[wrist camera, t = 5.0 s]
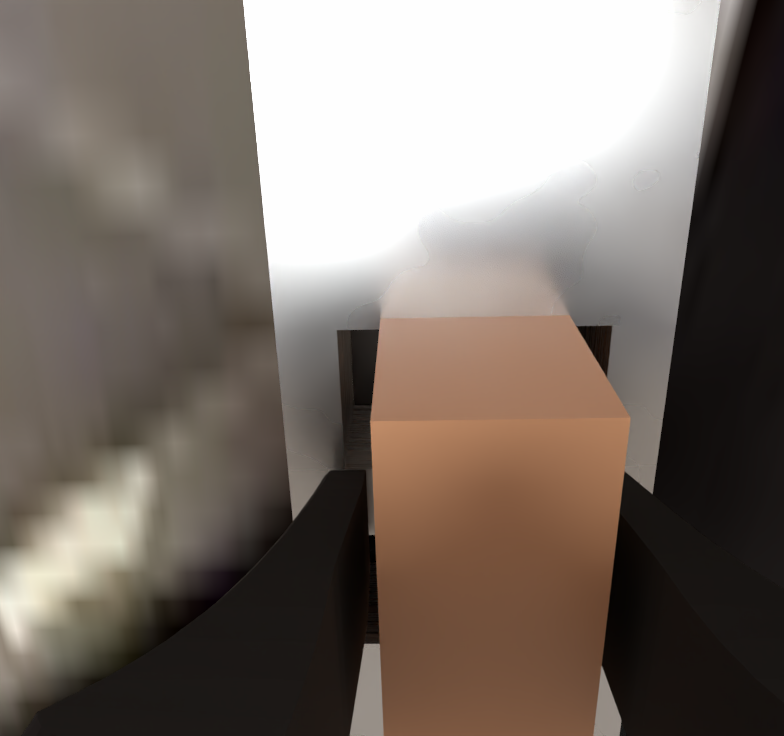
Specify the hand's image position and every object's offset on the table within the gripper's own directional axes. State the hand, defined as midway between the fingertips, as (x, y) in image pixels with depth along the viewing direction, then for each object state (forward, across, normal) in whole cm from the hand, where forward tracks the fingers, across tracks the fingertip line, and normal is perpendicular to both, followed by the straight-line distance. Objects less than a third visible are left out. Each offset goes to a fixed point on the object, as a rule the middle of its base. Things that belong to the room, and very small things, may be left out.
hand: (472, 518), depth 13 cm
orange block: (+3, 0, 0) cm, 3 cm away
